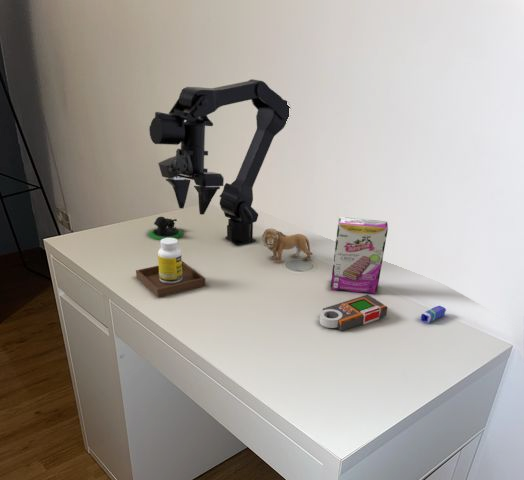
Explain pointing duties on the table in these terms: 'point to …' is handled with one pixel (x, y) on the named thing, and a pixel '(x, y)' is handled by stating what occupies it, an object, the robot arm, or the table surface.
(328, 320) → the electronic device
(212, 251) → the table surface
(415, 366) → the table surface
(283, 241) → the lion figurine
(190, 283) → the tray
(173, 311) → the table surface
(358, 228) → the candy bar box
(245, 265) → the table surface
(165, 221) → the toy figurine
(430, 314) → the eraser
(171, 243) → the supplement bottle
